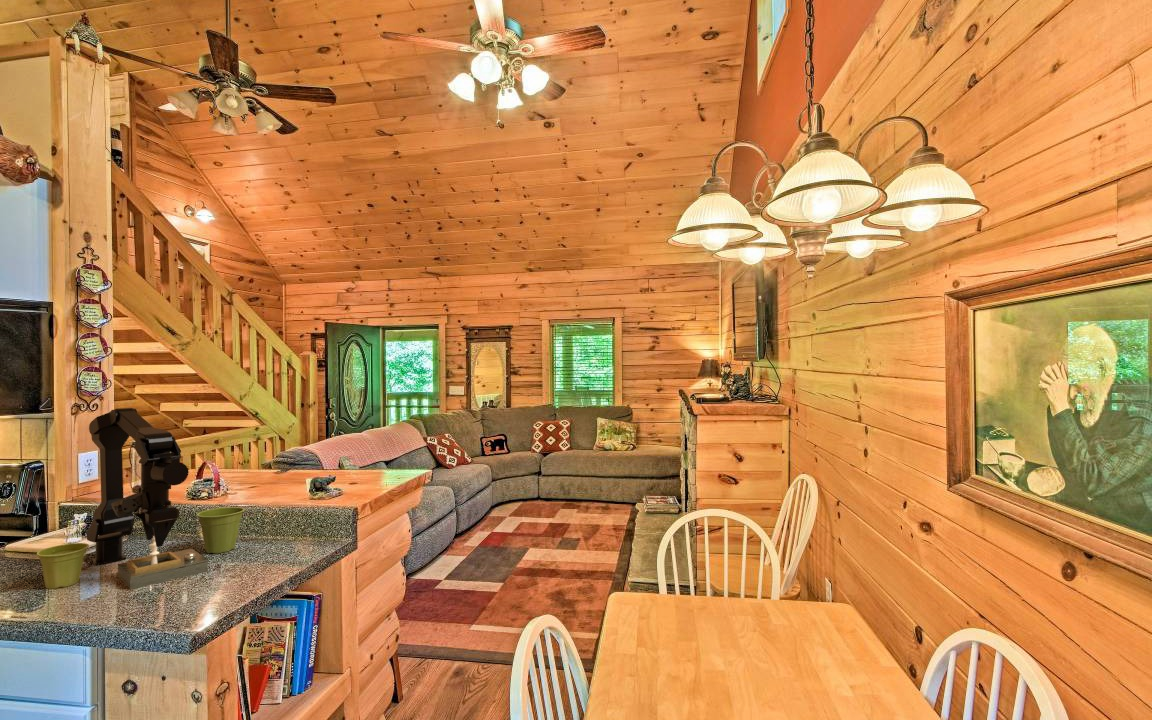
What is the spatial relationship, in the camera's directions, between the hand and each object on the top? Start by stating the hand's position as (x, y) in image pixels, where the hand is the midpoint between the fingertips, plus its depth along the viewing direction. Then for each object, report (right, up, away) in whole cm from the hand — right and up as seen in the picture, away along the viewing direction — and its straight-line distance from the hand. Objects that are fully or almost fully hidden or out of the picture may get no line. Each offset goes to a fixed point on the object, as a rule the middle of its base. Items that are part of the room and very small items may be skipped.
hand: (154, 543), depth 141 cm
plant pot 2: (+4, -9, +20) cm, 22 cm away
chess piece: (0, -9, 0) cm, 9 cm away
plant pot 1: (-18, -9, -6) cm, 21 cm away
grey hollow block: (+1, -8, +1) cm, 9 cm away
